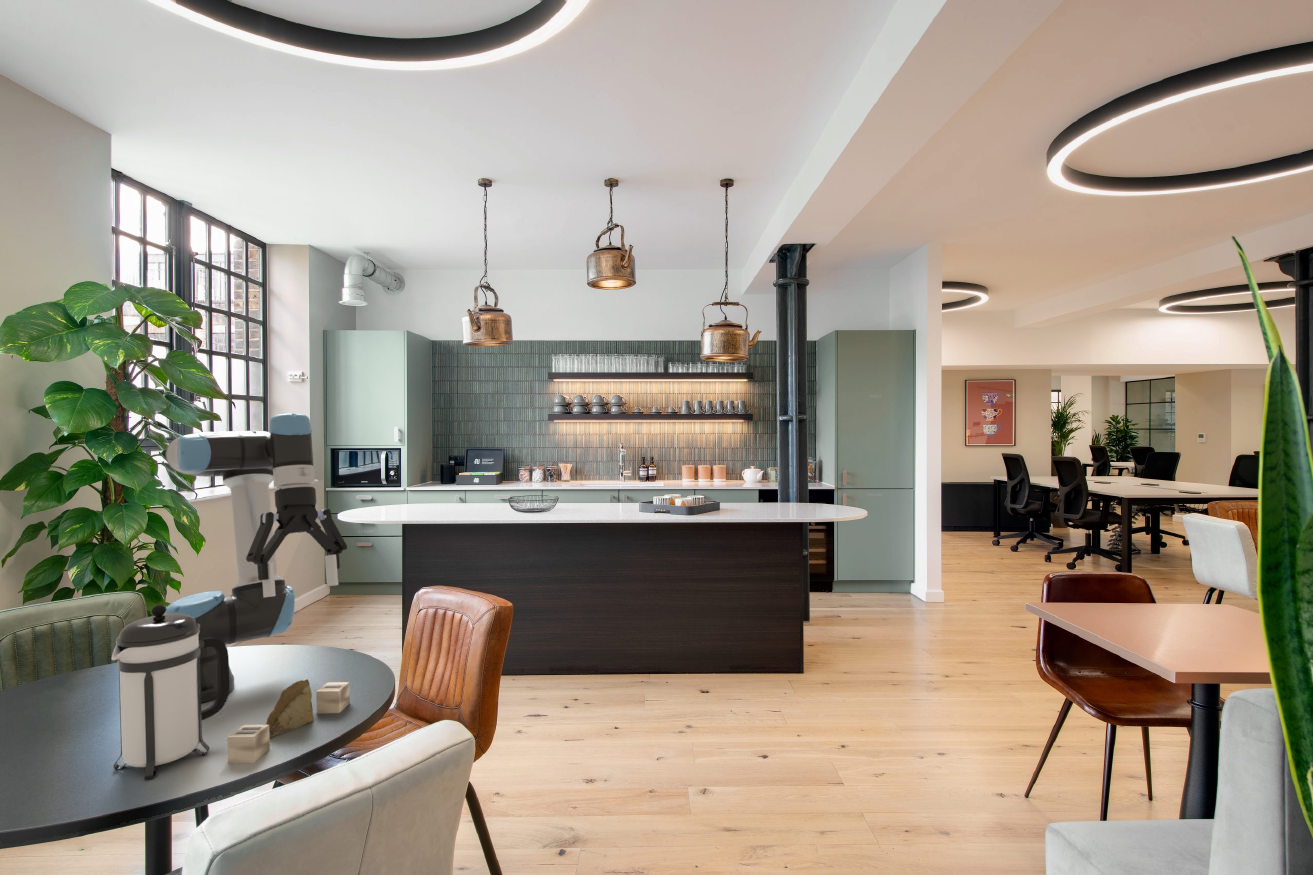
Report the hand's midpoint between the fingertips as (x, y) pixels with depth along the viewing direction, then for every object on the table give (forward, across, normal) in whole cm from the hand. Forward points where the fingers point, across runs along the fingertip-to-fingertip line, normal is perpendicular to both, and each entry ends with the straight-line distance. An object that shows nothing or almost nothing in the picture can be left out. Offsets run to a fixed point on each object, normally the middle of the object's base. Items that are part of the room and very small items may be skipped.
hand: (302, 591), depth 133 cm
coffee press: (+28, -16, +21) cm, 38 cm away
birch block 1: (+30, -8, +8) cm, 32 cm away
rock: (+28, +3, +12) cm, 31 cm away
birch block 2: (+28, +13, +12) cm, 33 cm away
